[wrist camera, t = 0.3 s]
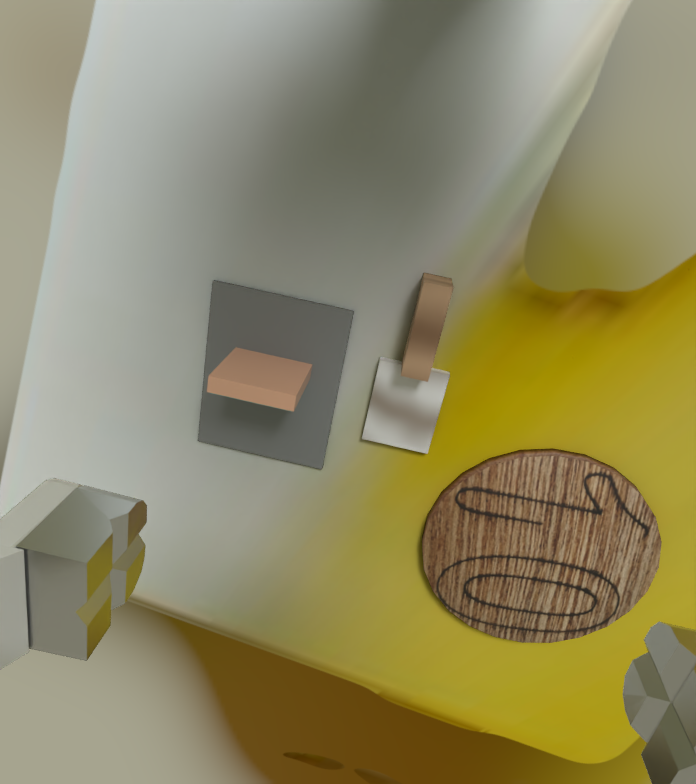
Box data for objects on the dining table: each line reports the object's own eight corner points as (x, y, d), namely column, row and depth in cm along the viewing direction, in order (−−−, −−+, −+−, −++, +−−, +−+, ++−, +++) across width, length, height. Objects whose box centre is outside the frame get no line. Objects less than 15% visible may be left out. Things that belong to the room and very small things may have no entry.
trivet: (430, 438, 60) (430, 446, 58) (679, 455, 57) (688, 465, 55) (415, 619, 70) (415, 631, 68) (628, 640, 67) (633, 654, 65)
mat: (214, 280, 55) (212, 281, 55) (353, 310, 55) (353, 312, 54) (199, 438, 63) (197, 440, 62) (322, 467, 62) (321, 469, 62)
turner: (400, 267, 53) (399, 276, 49) (474, 283, 53) (478, 293, 49) (362, 434, 60) (358, 452, 56) (427, 449, 60) (427, 468, 56)
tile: (235, 347, 57) (208, 375, 50) (312, 364, 57) (296, 395, 50) (233, 363, 58) (206, 393, 51) (309, 380, 58) (293, 413, 50)
